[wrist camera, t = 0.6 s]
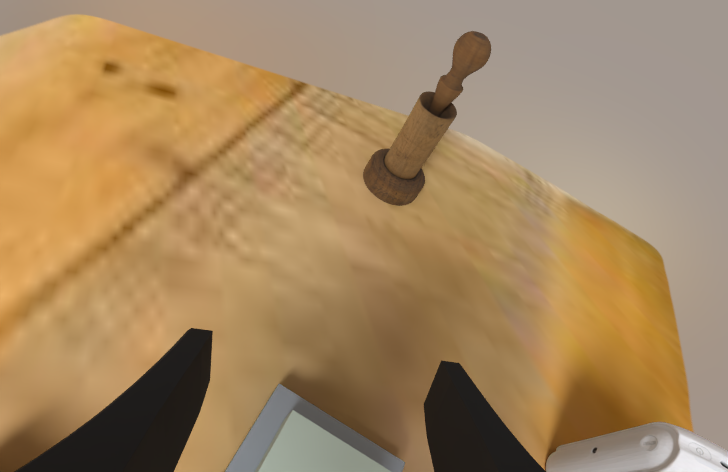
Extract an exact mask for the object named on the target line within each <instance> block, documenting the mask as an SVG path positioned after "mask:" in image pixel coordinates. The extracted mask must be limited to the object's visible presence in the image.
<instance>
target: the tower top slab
mask: <svg viewBox="0 0 728 472" xmlns="http://www.w3.org/2000/svg"><path fill="white" fill-rule="evenodd" d="M255 472H391V471H389V470H388V469H386V468H385V467H383V466H382V465H380V464H378V463H377V462H375V461H374V460H372V459H370V458H369V457H367V456H366V455H364V454H362V453H361V452H359V451H358V450H356V449H354V448H353V447H351V446H350V445H348V444H346V443H345V442H343V441H342V440H340V439H338V438H337V437H335V436H334V435H332V434H331V433H329V432H327V431H326V430H324V429H323V428H321V427H319V426H318V425H316V424H315V423H313V422H311V421H310V420H308V419H307V418H305V417H303V416H302V415H300V414H299V413H297V412H295V411H294V410H292V411H291V412H290V413H289V415H288V416H287V417H286V418H285V419H284V420H283V422H282V424H281V426H280V428H279V429H278V431H277V433H276V435H275V436H274V438H273V440H272V442H271V443H270V445H269V447H268V449H267V451H266V452H265V454H264V456H263V458H262V459H261V461H260V463H259V465H258V466H257V468H256V470H255Z"/></svg>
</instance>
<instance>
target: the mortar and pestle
mask: <svg viewBox="0 0 728 472" xmlns="http://www.w3.org/2000/svg"><path fill="white" fill-rule="evenodd" d="M490 53H491V44H490V41H489V40H488V38H487V37H486V36H485V35H484V34H482V33H479V32H474V31H471V32H467V33H465V34H463V35H462V36H461V37H460V38H459V39H458V40H457V42H456V44H455V46H454V50H453V63H452V68H451V70H450V72H449V73H448V74H447V75H443V76H441V78H440V80H439V82H438V85H437V88H436V92H435V93H434V92H424V93H422V94H421V95H420V97H419V99H418V101H417V102H416V104H415V106H414V108H413V110H412V112H411V113H410V115H409V117H408V119H407V120H406V122H405V124H404V126H403V127H402V129H401V131H400V133H399V134H398V136H397V138H396V139H395V141H394V143H393V145H392V146H391V148H390V149H381V150H378V151H377V152H375V153H374V154H373V155H372V157H371V159H370V160H369V162H368V164H367V166H366V167H365V170H364V175H363V176H364V181H365V184H366V186H367V187H368V189H369V190H370V191H371V192H372V193H373V194H374V195H375V196H376V197H378V198H379V199H381V200H383V201H384V202H387V203H389V204H393V205H406V204H409V203H411V202H412V201H413V200H414V199H415V198H416V197H417V195H418V194H419V192H420V191H421V189H422V188H423V186H424V183H425V176H424V173H423V171H422V169H421V167H422V166H423V164H424V163H425V161H426V160H427V158H428V157H429V155H430V154H431V152H432V151H433V149H434V148H435V146H436V145H437V143H438V142H439V141H440V139H441V138H442V136H443V135H444V133H445V132H446V130H447V129H448V127H449V126H450V124H451V123H452V121H453V120H454V119H455V117H456V115H457V112H456V108H455V106H454V105H453V104H452V103H451V102H452V101H453V100H454V99H456V98H457V97H458V96H459V95H460V93H461V92H462V91H463V87H462V82H463V80H464V78H466V77H467V76H468V75H470V74H471V73H473V72H475V71H477V70H479V69H480V68H482V67H483V66H484V65H485V64H486V62H487V61H488V59H489V57H490Z"/></svg>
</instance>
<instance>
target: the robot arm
mask: <svg viewBox="0 0 728 472" xmlns="http://www.w3.org/2000/svg"><path fill="white" fill-rule="evenodd" d="M211 350H212V331H209V330H202V329H194V328H191V329H189V330H188V331H187V332H186V333H185V334H184V335H183V336H182V337H181V338H180V339H179V340H178V341H177V343H176V344H175V345H174V346H173V347H172V348H171V349H170V350H169V351H168V352H167V353H166V354H165V355H164V356H163V357H162V358H161V359H160V360H159V361H158V362H157V363H156V364H155V365H154V366H152V367H151V368H150V369H149V370H148V371H147V372H146V373H145V374H144V375H143V376H142V377H141V378H140V379H139V380H137V381H136V382H135V383H134V384H133V385H132V386H131V387H129V388H128V389H127V390H126V391H125V392H124V393H122V394H121V395H120V396H119V397H118V398H117V399H115V400H114V401H113V402H112V403H111V404H109V405H108V406H107V407H106V408H105V409H103V410H102V411H101V412H99V413H98V414H97V415H96V416H94V417H93V418H92V419H91V420H89V421H88V422H87V423H85V424H84V425H82V426H81V427H80V428H78V429H77V430H76V431H74V432H73V433H72V434H70V435H69V436H67V437H66V438H65V439H63V440H62V441H60V442H59V443H57V444H56V445H54V446H53V447H51V448H50V449H49V450H47V451H46V452H44V453H43V454H41V455H40V456H38V457H37V458H35V459H34V460H32V461H31V462H29V463H27V464H26V465H24V466H23V467H21V468H20V469H18V470H16V471H15V472H174V470H175V467H176V465H177V463H178V461H179V458H180V456H181V454H182V452H183V449H184V447H185V445H186V443H187V440H188V438H189V436H190V433H191V431H192V429H193V427H194V424H195V422H196V420H197V417H198V415H199V413H200V410H201V407H202V404H203V400H204V397H205V394H206V391H207V388H208V384H209V381H210V370H211ZM424 412H425V423H426V432H427V439H428V444H429V449H430V453H431V458H432V463H433V467H434V472H546V471H545V470H544V469H543V468H542V467H541V466H540V465H539V464H538V463H537V462H536V461H535V460H534V459H533V457H532V456H531V455H530V454H529V453H528V452H527V451H526V449H525V448H524V447H523V446H522V445H521V444H520V442H519V441H518V440H517V439H516V438H515V436H514V435H513V434H512V433H511V432H510V430H509V429H508V428H507V427H506V425H505V424H504V423H503V422H502V420H501V419H500V418H499V416H498V415H497V414H496V413H495V411H494V410H493V409H492V407H491V406H490V405H489V403H488V402H487V401H486V399H485V398H484V396H483V395H482V394H481V392H480V391H479V390H478V388H477V387H476V385H475V384H474V383H473V381H472V380H471V379H470V377H469V376H468V374H467V373H466V372H465V370H464V369H463V368H462V366H461V365H460V364H459V363H454V362H447V361H441V363H440V365H439V368H438V370H437V373H436V375H435V378H434V380H433V383H432V385H431V388H430V390H429V393H428V395H427V398H426V400H425V403H424Z"/></svg>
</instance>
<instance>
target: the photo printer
mask: <svg viewBox="0 0 728 472" xmlns="http://www.w3.org/2000/svg"><path fill="white" fill-rule="evenodd" d="M546 472H728V451H727V450H726V449H724V448H722V447H720V446H718V445H717V444H715V443H713V442H711V441H709V440H708V439H706V438H703V437H702V436H700V435H697V434H695V433H693V432H691V431H689V430H686V429H684V428H681V427H678V426H675V425H672V424H669V423H665V422H653V423H649V424H645V425H641V426H637V427H634V428H629V429H625V430H621V431H617V432H613V433H609V434H605V435H601V436H597V437H594V438H589V439H585V440H581V441H577V442H573V443H569V444H564V445H561V446H559V447H557V449H556V452H553V453H552V454H550V456H549V457H548V459H547V462H546Z"/></svg>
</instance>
